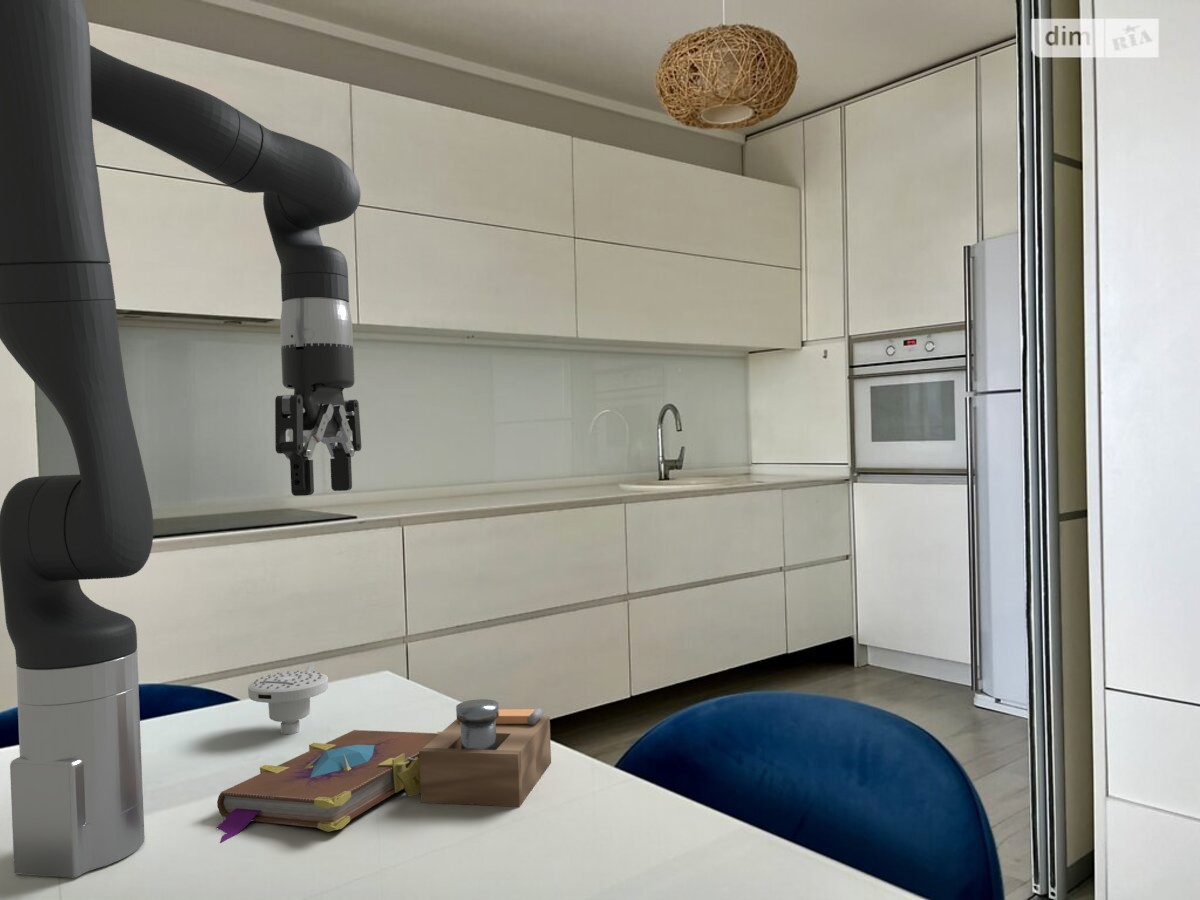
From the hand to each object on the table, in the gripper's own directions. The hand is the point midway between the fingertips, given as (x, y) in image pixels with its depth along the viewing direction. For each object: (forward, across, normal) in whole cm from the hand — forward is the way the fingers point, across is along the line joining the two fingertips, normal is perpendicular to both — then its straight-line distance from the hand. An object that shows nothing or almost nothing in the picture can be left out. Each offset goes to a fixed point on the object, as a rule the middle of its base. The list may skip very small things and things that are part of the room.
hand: (323, 492), depth 98 cm
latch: (+25, -2, +19) cm, 31 cm away
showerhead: (+30, -12, -12) cm, 35 cm away
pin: (+30, +4, +18) cm, 36 cm away
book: (+31, +7, +4) cm, 32 cm away
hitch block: (+30, +2, +18) cm, 35 cm away
